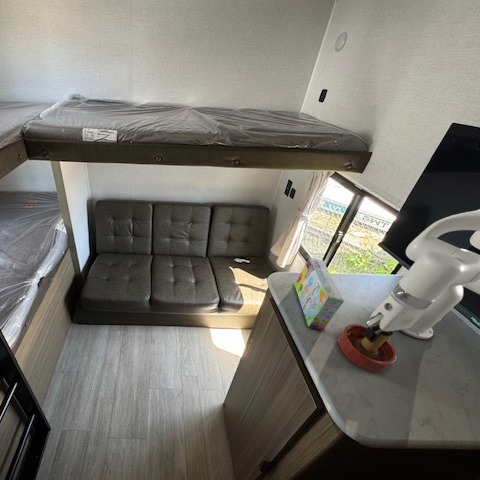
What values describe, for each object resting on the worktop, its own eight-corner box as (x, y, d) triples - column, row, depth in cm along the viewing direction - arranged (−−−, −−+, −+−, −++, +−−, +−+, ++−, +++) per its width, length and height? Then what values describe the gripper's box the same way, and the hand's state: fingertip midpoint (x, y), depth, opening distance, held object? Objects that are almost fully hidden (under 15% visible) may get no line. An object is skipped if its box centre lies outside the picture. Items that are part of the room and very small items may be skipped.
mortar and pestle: (380, 361, 77) (418, 324, 67) (361, 362, 76) (396, 325, 66) (364, 342, 82) (397, 305, 72) (346, 342, 82) (376, 305, 72)
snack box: (324, 331, 86) (345, 301, 77) (307, 327, 87) (326, 297, 78) (307, 287, 103) (323, 258, 95) (293, 284, 104) (307, 256, 95)
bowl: (361, 331, 87) (369, 322, 84) (397, 369, 76) (407, 360, 73) (327, 336, 84) (334, 326, 82) (360, 376, 74) (369, 367, 71)
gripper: (399, 309, 61) (360, 352, 71) (453, 303, 64) (408, 345, 74) (373, 287, 67) (340, 330, 77) (423, 282, 70) (385, 323, 80)
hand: (374, 336), depth 76 cm, fingers closed on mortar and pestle, 3 cm apart
